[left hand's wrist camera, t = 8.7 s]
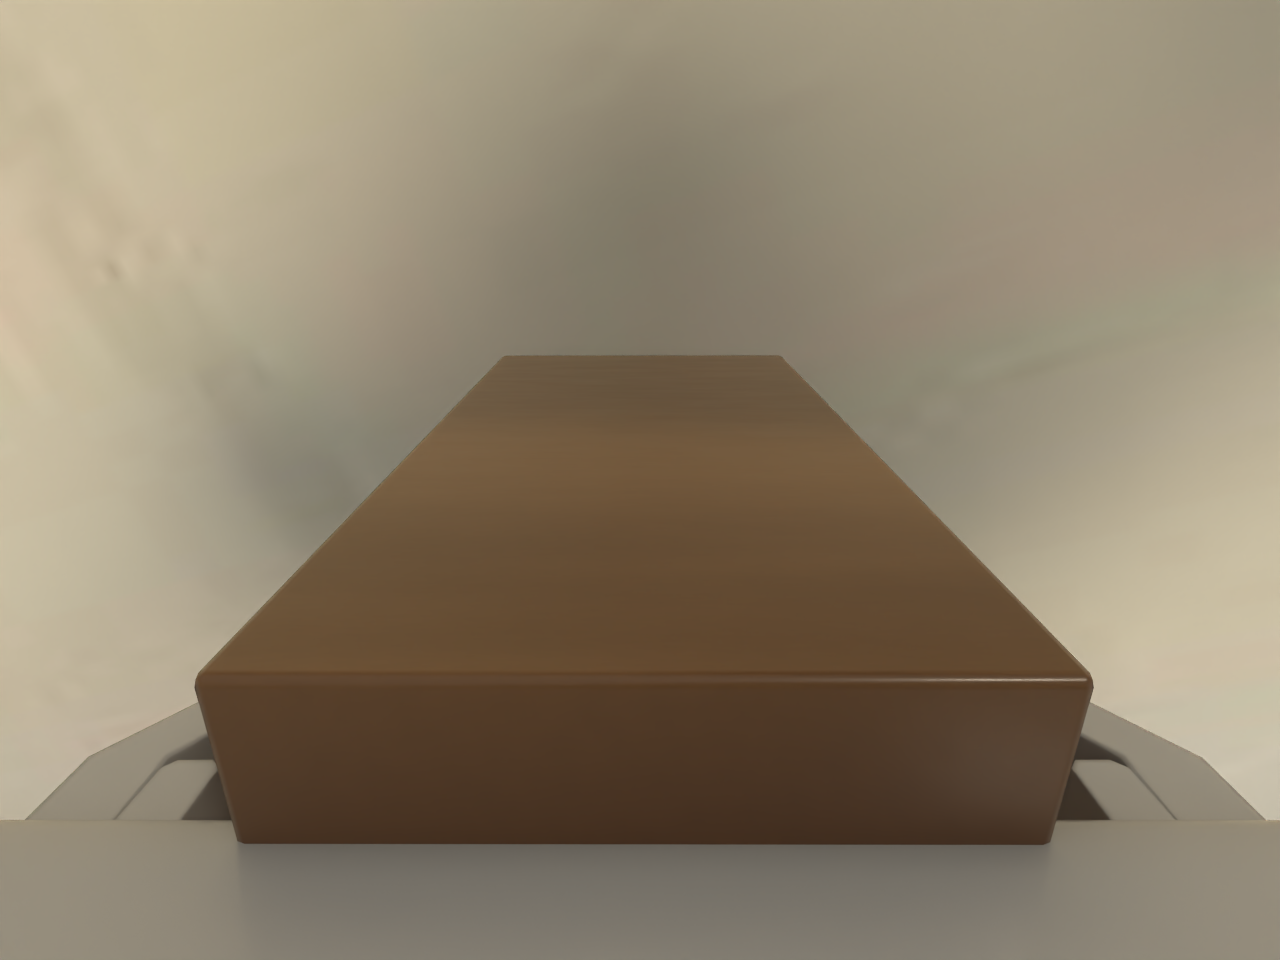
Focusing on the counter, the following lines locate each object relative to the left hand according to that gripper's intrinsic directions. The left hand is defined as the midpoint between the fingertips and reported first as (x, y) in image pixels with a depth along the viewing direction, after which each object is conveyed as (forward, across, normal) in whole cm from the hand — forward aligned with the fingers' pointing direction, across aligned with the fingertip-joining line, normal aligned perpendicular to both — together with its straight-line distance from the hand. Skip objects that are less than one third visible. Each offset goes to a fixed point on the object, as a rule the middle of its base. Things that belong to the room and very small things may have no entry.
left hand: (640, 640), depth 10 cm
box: (+6, 0, +8) cm, 10 cm away
